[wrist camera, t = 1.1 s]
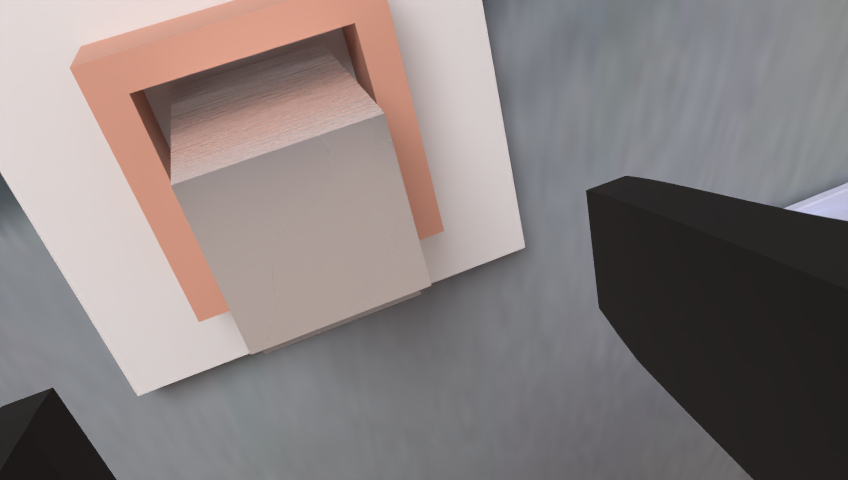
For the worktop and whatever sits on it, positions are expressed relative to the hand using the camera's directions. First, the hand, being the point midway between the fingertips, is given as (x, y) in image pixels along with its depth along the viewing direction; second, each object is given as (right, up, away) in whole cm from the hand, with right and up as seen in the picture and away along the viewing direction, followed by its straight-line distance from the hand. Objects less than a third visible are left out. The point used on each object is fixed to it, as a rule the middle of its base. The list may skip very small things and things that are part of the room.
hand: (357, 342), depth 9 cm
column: (-3, +4, +8) cm, 9 cm away
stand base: (-3, +4, +9) cm, 10 cm away
